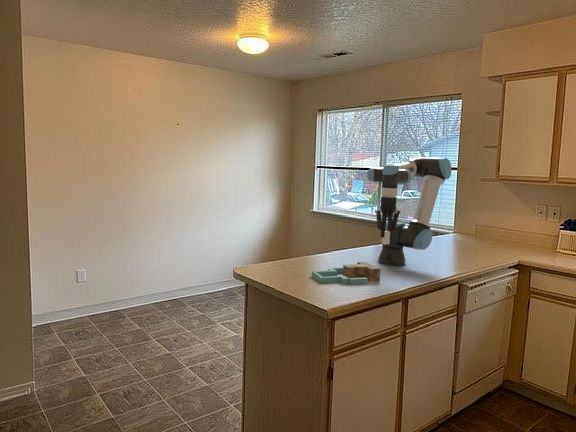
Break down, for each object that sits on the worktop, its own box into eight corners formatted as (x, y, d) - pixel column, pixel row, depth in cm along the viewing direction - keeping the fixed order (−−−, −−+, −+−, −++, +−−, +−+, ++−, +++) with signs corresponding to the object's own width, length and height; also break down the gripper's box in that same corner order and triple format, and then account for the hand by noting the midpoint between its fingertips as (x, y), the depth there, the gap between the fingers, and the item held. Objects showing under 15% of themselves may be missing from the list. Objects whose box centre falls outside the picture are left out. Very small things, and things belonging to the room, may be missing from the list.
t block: (365, 273, 219) (366, 261, 219) (379, 280, 206) (380, 268, 206) (338, 274, 215) (339, 262, 214) (351, 282, 202) (352, 269, 201)
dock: (347, 271, 220) (347, 267, 220) (367, 283, 200) (367, 278, 200) (308, 273, 213) (308, 268, 213) (324, 286, 194) (325, 280, 193)
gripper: (397, 196, 215) (393, 242, 218) (371, 195, 211) (368, 242, 214) (405, 197, 208) (402, 245, 211) (379, 197, 204) (376, 245, 207)
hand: (385, 243), depth 213 cm, fingers closed
